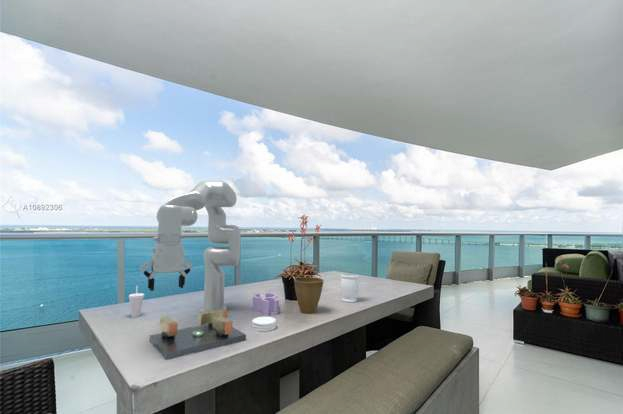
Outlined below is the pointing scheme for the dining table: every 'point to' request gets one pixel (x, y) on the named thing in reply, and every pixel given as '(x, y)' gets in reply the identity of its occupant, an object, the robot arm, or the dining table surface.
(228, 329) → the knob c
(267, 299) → the lavender lobed block
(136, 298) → the smoothie
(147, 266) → the robot arm
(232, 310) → the dining table surface
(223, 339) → the plate
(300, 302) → the plant pot
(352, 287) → the jar
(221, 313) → the beige rectangular block
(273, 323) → the white round disc
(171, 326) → the olive and orange block
